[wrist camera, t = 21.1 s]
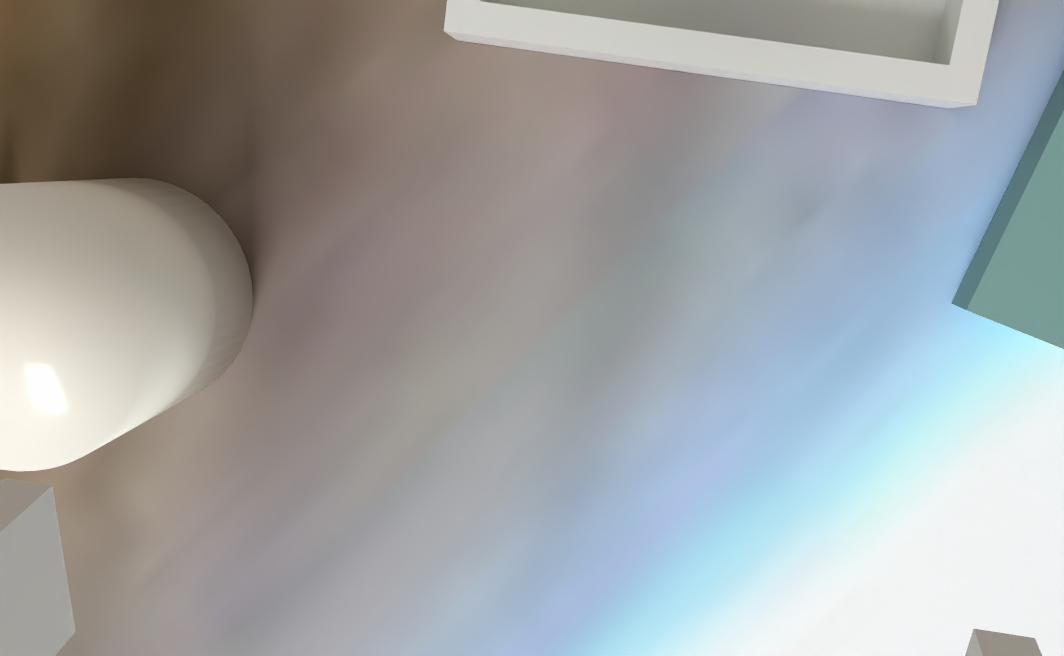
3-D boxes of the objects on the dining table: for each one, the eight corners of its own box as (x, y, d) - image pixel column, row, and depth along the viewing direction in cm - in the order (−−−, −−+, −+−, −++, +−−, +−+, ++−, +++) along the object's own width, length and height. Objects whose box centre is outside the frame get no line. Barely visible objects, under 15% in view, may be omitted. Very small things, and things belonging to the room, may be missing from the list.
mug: (263, 195, 34) (158, 207, 27) (242, 418, 36) (136, 492, 28) (-9, 154, 35) (-191, 154, 27) (-19, 375, 36) (-194, 435, 29)
